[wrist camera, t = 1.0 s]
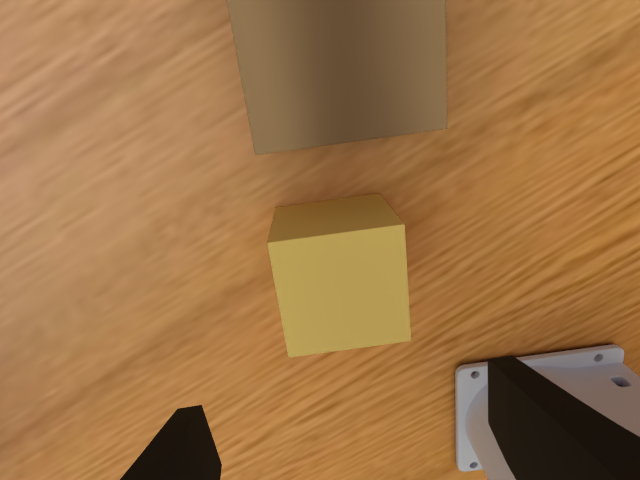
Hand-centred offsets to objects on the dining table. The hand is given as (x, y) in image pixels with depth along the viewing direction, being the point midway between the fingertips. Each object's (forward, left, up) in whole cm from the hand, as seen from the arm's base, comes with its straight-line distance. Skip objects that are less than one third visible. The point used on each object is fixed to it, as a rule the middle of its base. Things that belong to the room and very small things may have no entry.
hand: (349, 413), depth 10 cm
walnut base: (-1, -9, -11) cm, 14 cm away
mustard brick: (0, 0, -10) cm, 11 cm away
